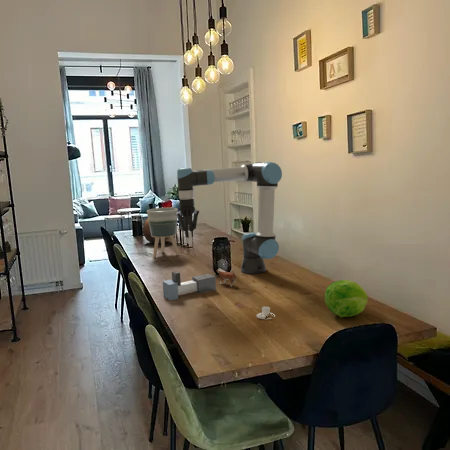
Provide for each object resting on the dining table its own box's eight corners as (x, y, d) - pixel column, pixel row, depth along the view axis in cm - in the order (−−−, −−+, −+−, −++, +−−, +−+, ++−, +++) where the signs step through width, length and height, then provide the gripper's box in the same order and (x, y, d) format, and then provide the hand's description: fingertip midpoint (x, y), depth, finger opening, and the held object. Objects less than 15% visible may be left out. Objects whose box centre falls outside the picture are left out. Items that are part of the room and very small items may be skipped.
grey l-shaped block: (196, 287, 230) (195, 267, 229) (201, 289, 227) (199, 269, 225) (167, 294, 222) (165, 273, 220) (170, 296, 218) (169, 274, 216)
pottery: (144, 241, 372) (142, 211, 368) (172, 239, 375) (170, 210, 371) (142, 246, 350) (140, 215, 346) (171, 244, 352) (169, 213, 348)
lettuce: (376, 321, 185) (383, 287, 182) (338, 326, 177) (344, 290, 174) (350, 305, 200) (356, 274, 197) (314, 309, 192) (319, 276, 188)
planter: (185, 255, 314) (183, 209, 308) (158, 260, 302) (154, 212, 296) (171, 250, 331) (168, 206, 326) (145, 255, 319) (141, 209, 314)
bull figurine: (220, 281, 246) (219, 267, 244) (237, 285, 236) (237, 270, 235) (214, 282, 243) (213, 268, 241) (231, 287, 233) (231, 272, 232)
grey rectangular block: (209, 286, 236) (208, 273, 235) (216, 290, 230) (215, 276, 229) (192, 290, 231) (192, 276, 230) (199, 293, 225) (198, 279, 224)
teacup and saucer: (260, 321, 185) (260, 312, 185) (251, 315, 193) (251, 306, 192) (278, 318, 189) (278, 309, 188) (269, 312, 196) (269, 303, 195)
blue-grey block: (171, 294, 225) (170, 279, 224) (178, 298, 218) (177, 283, 217) (163, 296, 223) (162, 281, 222) (170, 300, 216) (169, 284, 215)
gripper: (194, 196, 232) (197, 240, 236) (171, 199, 225) (175, 244, 229) (201, 197, 226) (204, 242, 230) (178, 200, 219) (181, 246, 223)
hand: (189, 243), depth 229 cm, fingers closed
